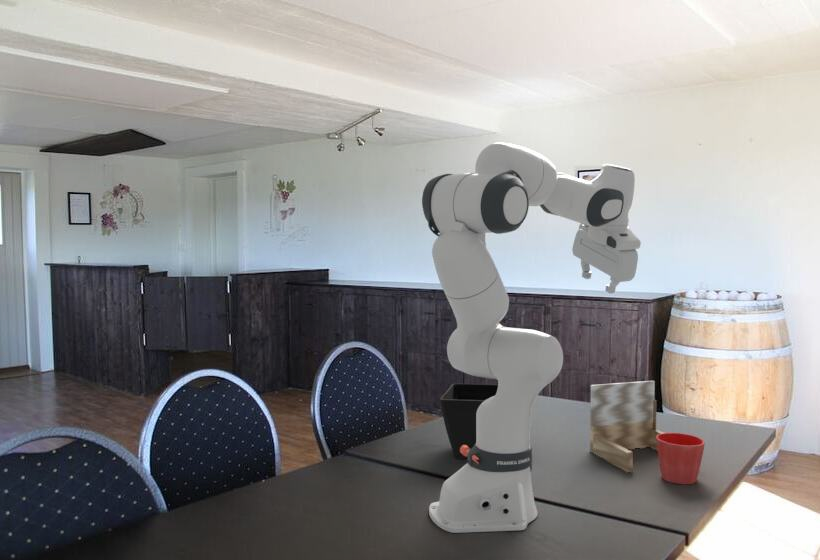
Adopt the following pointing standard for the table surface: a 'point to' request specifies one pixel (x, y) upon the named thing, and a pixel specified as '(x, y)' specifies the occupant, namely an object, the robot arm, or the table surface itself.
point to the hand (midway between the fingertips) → (597, 285)
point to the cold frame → (622, 421)
